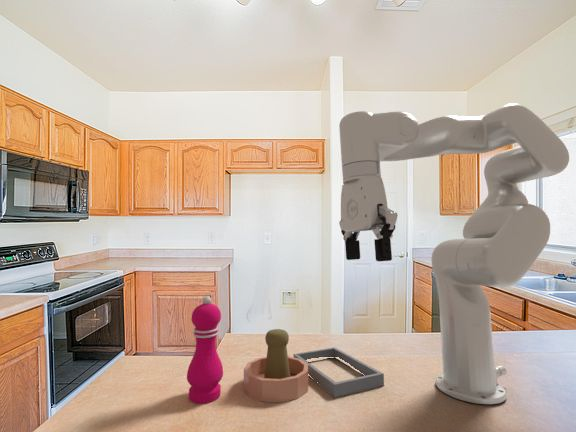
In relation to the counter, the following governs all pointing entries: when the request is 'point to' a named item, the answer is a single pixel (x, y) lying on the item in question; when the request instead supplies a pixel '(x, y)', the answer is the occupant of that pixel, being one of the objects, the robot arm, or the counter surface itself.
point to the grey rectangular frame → (345, 387)
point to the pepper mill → (205, 355)
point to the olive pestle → (277, 354)
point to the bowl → (275, 381)
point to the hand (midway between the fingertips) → (367, 260)
